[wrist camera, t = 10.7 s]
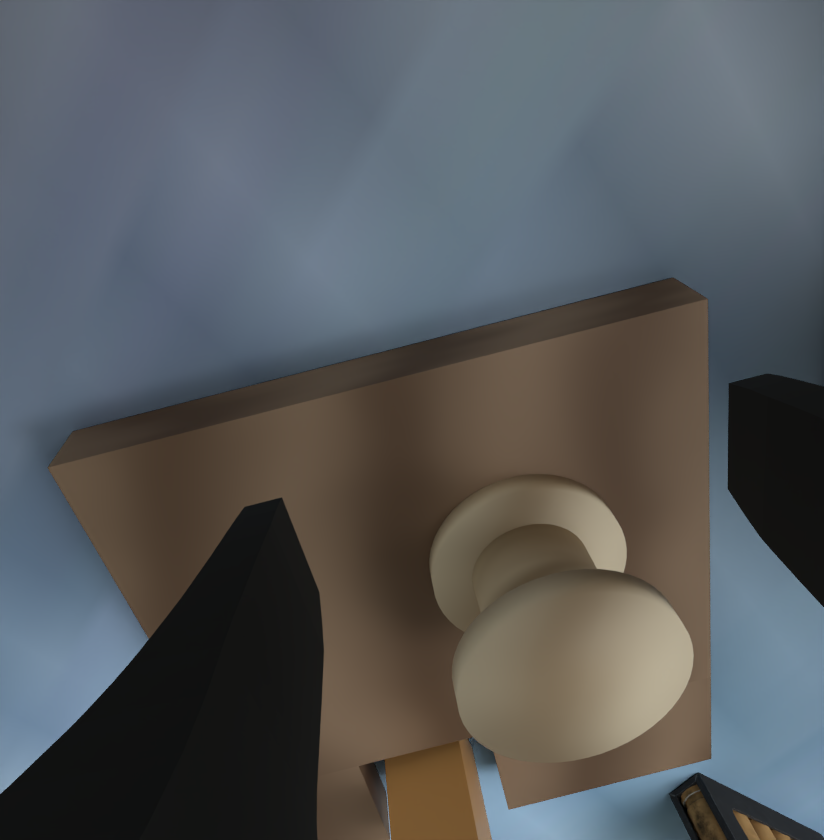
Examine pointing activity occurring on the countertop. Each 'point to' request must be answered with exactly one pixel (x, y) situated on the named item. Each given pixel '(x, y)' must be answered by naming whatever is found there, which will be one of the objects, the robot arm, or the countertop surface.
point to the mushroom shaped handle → (553, 623)
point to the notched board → (427, 511)
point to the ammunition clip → (731, 814)
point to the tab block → (436, 795)
